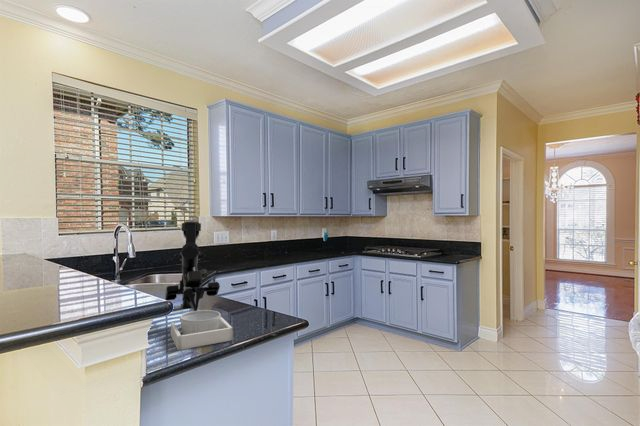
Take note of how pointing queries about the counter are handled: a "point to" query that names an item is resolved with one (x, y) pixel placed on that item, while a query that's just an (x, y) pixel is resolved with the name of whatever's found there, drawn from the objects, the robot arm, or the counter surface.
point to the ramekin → (199, 321)
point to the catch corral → (202, 336)
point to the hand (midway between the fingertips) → (195, 310)
